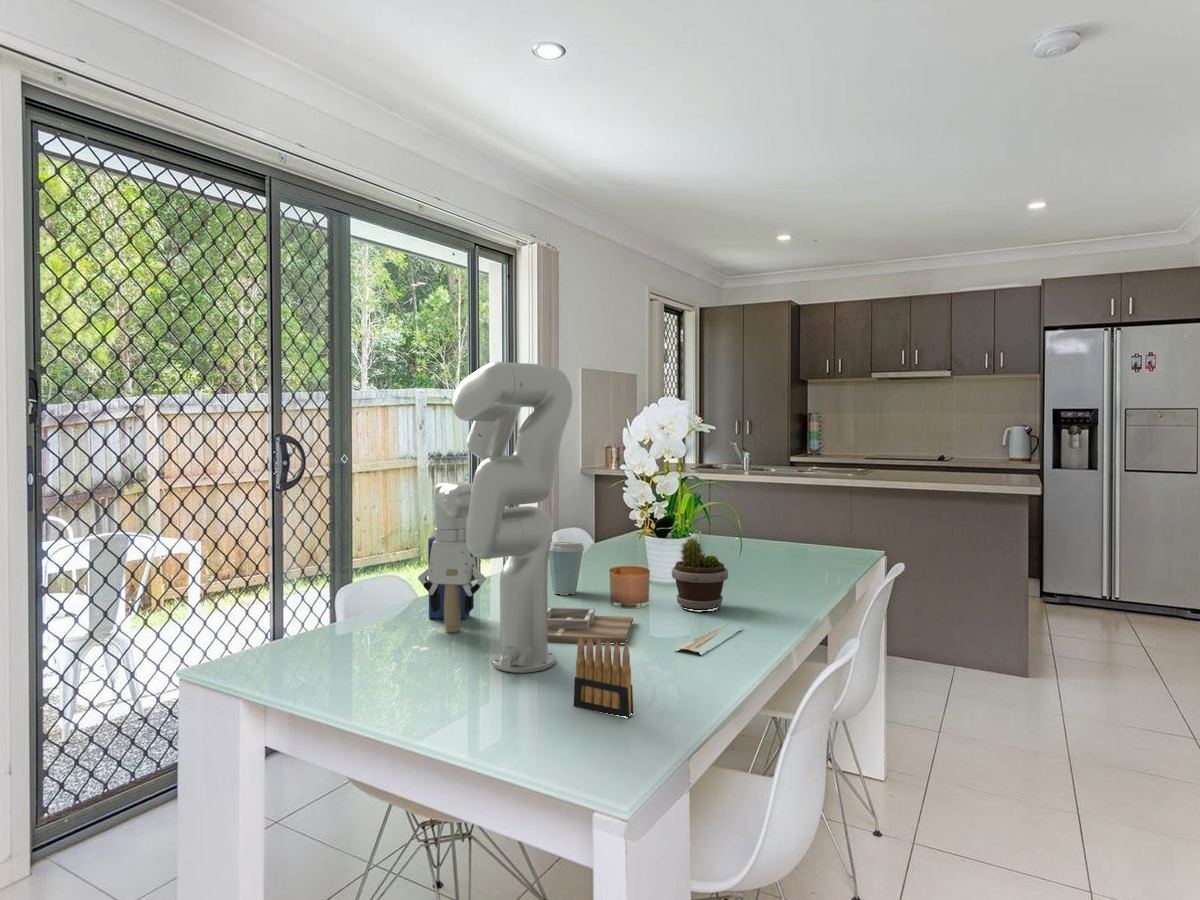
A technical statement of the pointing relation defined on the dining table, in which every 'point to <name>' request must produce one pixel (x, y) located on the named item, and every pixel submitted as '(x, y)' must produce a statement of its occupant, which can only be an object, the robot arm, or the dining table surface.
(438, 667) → the dining table surface
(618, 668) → the ammunition clip
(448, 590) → the handle
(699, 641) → the beige flat strip
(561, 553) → the disposable coffee cup
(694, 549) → the flowerpot
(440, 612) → the electronic device
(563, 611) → the board
